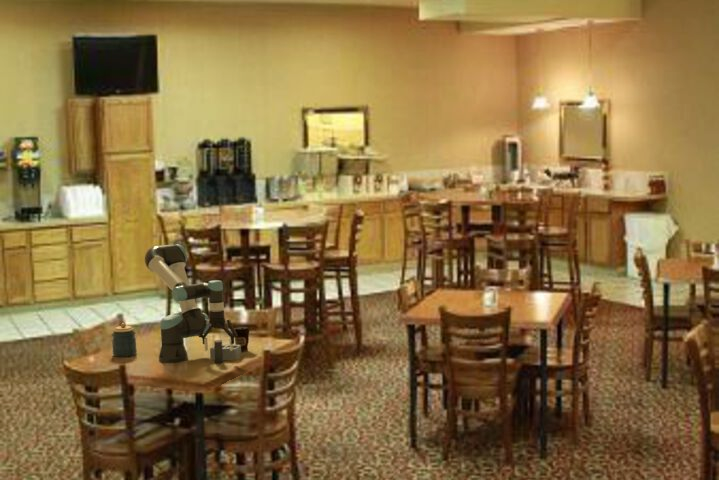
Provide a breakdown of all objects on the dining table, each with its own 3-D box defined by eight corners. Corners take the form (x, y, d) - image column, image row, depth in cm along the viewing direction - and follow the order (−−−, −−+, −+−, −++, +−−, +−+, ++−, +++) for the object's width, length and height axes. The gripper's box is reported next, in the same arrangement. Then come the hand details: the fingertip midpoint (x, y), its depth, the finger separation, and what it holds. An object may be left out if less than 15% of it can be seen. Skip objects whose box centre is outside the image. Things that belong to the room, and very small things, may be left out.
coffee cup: (247, 353, 547) (246, 329, 546) (232, 352, 549) (231, 329, 547) (251, 349, 556) (251, 326, 554) (237, 349, 557) (236, 326, 556)
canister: (107, 355, 550) (106, 323, 548) (128, 351, 560) (126, 319, 558) (121, 358, 541) (119, 326, 539) (141, 354, 551) (140, 322, 549)
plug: (214, 363, 525) (213, 340, 523) (216, 361, 529) (215, 339, 527) (221, 363, 524) (220, 340, 523) (223, 361, 528) (222, 339, 527)
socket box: (210, 359, 533) (209, 348, 533) (216, 355, 543) (215, 343, 542) (236, 360, 531) (235, 348, 530) (241, 355, 541) (240, 344, 540)
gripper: (191, 311, 521) (193, 351, 524) (237, 311, 517) (240, 351, 520) (196, 309, 529) (198, 348, 531) (241, 308, 525) (243, 348, 527)
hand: (218, 350), depth 525 cm, fingers open, 13 cm apart
